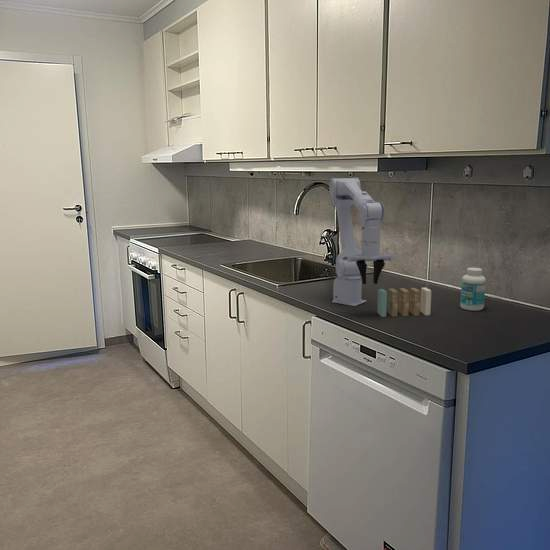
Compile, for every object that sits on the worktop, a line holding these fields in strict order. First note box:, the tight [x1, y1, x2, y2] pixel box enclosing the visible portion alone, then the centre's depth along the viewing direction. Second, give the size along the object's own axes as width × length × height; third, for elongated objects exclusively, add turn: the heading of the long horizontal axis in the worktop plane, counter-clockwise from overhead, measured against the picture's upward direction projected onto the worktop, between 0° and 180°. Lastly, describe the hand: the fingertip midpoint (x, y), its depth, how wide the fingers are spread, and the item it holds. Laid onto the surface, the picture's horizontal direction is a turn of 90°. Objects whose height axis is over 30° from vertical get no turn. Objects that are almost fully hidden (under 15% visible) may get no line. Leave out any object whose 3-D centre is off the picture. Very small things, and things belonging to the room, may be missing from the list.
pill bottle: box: [459, 267, 487, 312], centre depth 176 cm, size 8×7×14 cm
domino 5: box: [419, 287, 432, 316], centre depth 172 cm, size 2×5×8 cm, turn 5°
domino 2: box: [387, 288, 399, 317], centre depth 171 cm, size 2×5×8 cm, turn 5°
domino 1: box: [376, 288, 388, 318], centre depth 171 cm, size 2×5×8 cm, turn 5°
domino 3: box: [398, 287, 410, 317], centre depth 171 cm, size 2×5×8 cm, turn 5°
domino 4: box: [409, 287, 421, 317], centre depth 171 cm, size 2×5×8 cm, turn 5°
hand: (369, 283), depth 169 cm, fingers open, 3 cm apart
